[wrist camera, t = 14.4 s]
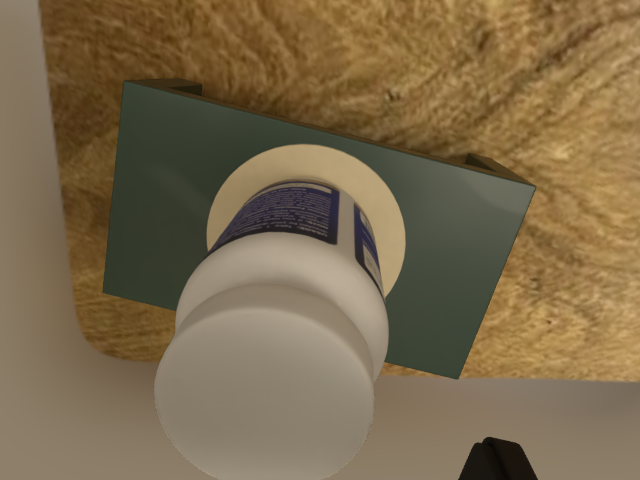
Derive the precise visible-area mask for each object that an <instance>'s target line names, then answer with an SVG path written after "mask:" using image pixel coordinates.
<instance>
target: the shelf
mask: <svg viewBox="0 0 640 480" xmlns="http://www.w3.org/2000/svg"><path fill="white" fill-rule="evenodd" d="M201 90H202V84H199V83H195V82H192V81H188V80H184V79H180V78H176V79H148V80H125V81H124V83H123V93H122V103H121V113H120V123H119V133H118V143H117V153H116V163H115V173H114V183H113V193H112V203H111V213H110V222H109V232H108V242H107V252H106V262H105V272H104V282H103V293H105V294H109V295H113V296H117V297H121V298H125V299H129V300H133V301H138V302H142V303H146V304H150V305H154V306H158V307H162V308H166V309H170V310H174V311H177V306H178V303H179V300H180V297H181V294H182V292H183V290H184V288H185V286H186V283H187V281H188V279H189V278H190V276H191V275H192V273H193V272H194V270H195V269H196V268H197V266H198V265H199V264H200V262H201V261H202V260H203V258H204V257H205V256H206V254H207V253H208V252H209V250H210V249H211V248H212V247H213V245H214V244H215V242H216V241H217V240H218V238H219V236H220V235H221V234H222V233H223V231H224V230H225V229H226V227H227V226H228V225H229V223H230V222H231V221H232V219H233V218H234V217H235V215H236V214H237V212H238V211H239V210H240V208H241V207H242V206H243V204H244V203H245V202H246V201H247V200H248V199H249V198H250V197H251V196H253V195H254V194H255V193H256V192H258V191H259V190H260V189H262V188H264V187H265V186H267V185H269V184H272V183H274V182H277V181H280V180H284V179H289V178H312V179H318V180H322V181H325V182H328V183H330V184H332V185H334V186H336V187H338V188H340V189H341V190H343V191H345V192H346V193H347V194H349V195H350V196H351V197H352V198H353V199H354V200H355V201H356V202H357V203H358V204H359V205H360V207H361V208H362V209H363V211H364V212H365V214H366V216H367V217H368V220H369V222H370V224H371V227H372V230H373V233H374V237H375V241H376V247H377V253H378V259H379V265H380V272H381V278H382V283H383V290H384V296H385V303H386V308H387V315H388V326H389V338H388V348H387V353H386V357H385V361H384V362H387V363H391V364H396V365H400V366H404V367H408V368H412V369H416V370H420V371H424V372H428V373H432V374H437V375H441V376H445V377H449V378H453V379H459V376H460V374H461V371H462V369H463V367H464V364H465V362H466V359H467V357H468V354H469V352H470V349H471V347H472V344H473V342H474V340H475V337H476V335H477V332H478V330H479V327H480V325H481V322H482V320H483V317H484V315H485V313H486V310H487V308H488V305H489V303H490V300H491V298H492V295H493V293H494V290H495V288H496V285H497V283H498V281H499V278H500V276H501V273H502V271H503V268H504V266H505V263H506V261H507V258H508V256H509V254H510V251H511V249H512V246H513V244H514V241H515V239H516V236H517V234H518V231H519V229H520V227H521V224H522V222H523V219H524V217H525V214H526V212H527V209H528V207H529V204H530V202H531V199H532V197H533V195H534V192H535V190H536V186H535V185H534V184H532V183H530V182H529V181H527V180H525V179H524V178H522V177H521V176H519V175H517V174H516V173H514V172H512V171H511V170H509V169H507V168H506V167H504V166H502V165H501V164H499V163H497V162H496V161H494V160H493V159H491V158H487V157H483V156H479V155H475V154H471V153H469V154H468V157H467V160H466V163H465V164H463V163H459V162H455V161H451V160H447V159H443V158H439V157H436V156H432V155H428V154H424V153H420V152H416V151H412V150H408V149H404V148H400V147H397V146H393V145H389V144H385V143H381V142H377V141H373V140H369V139H365V138H362V137H358V136H354V135H350V134H346V133H342V132H338V131H334V130H330V129H326V128H323V127H319V126H315V125H311V124H307V123H303V122H299V121H295V120H291V119H288V118H284V117H280V116H276V115H272V114H268V113H264V112H260V111H256V110H252V109H249V108H245V107H241V106H237V105H233V104H229V103H225V102H221V101H217V100H214V99H210V98H206V97H202V96H201Z"/></svg>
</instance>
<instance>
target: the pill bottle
mask: <svg viewBox="0 0 640 480" xmlns="http://www.w3.org/2000/svg"><path fill="white" fill-rule="evenodd" d="M388 338H389V326H388V315H387V308H386V303H385V296H384V290H383V283H382V278H381V272H380V265H379V259H378V253H377V247H376V241H375V237H374V233H373V230H372V227H371V224H370V222H369V220H368V217H367V216H366V214H365V212H364V211H363V209H362V208H361V207H360V205H359V204H358V203H357V202H356V201H355V200H354V199H353V198H352V197H351V196H350V195H349V194H347V193H346V192H345V191H343V190H341V189H340V188H338V187H336V186H334V185H332V184H330V183H328V182H325V181H322V180H318V179H312V178H289V179H284V180H280V181H277V182H274V183H272V184H269V185H267V186H265V187H264V188H262V189H260V190H259V191H258V192H256V193H255V194H254V195H253V196H251V197H250V198H249V199H248V200H247V201H246V202H245V203H244V204H243V206H242V207H241V208H240V210H239V211H238V212H237V214H236V215H235V217H234V218H233V219H232V221H231V222H230V223H229V225H228V226H227V227H226V229H225V230H224V231H223V233H222V234H221V235H220V236H219V238H218V240H217V241H216V242H215V244H214V245H213V247H212V248H211V249H210V250H209V252H208V253H207V254H206V256H205V257H204V258H203V260H202V261H201V262H200V264H199V265H198V266H197V268H196V269H195V270H194V272H193V273H192V275H191V276H190V278H189V279H188V281H187V283H186V286H185V288H184V290H183V292H182V294H181V297H180V300H179V303H178V306H177V312H176V319H175V335H174V337H173V338H172V340H171V342H170V344H169V346H168V347H167V349H166V351H165V353H164V355H163V357H162V359H161V361H160V363H159V366H158V370H157V373H156V377H155V384H154V399H155V406H156V411H157V415H158V418H159V420H160V423H161V425H162V427H163V429H164V431H165V433H166V435H167V437H168V438H169V440H170V441H171V442H172V444H173V445H174V446H175V447H176V449H177V450H178V451H179V452H180V453H181V454H182V455H183V456H184V457H185V458H186V459H187V460H188V461H190V462H191V463H192V464H193V465H195V466H196V467H198V468H199V469H200V470H202V471H204V472H205V473H207V474H209V475H211V476H212V477H214V478H216V479H219V480H323V479H325V478H328V477H329V476H331V475H332V474H334V473H336V472H338V471H339V470H340V469H342V468H343V467H344V466H345V465H347V464H348V463H349V462H350V461H351V460H352V459H353V458H354V456H355V455H356V454H357V453H358V451H359V450H360V449H361V447H362V445H363V444H364V442H365V441H366V438H367V436H368V434H369V432H370V429H371V426H372V422H373V416H374V408H375V391H374V382H375V381H376V379H377V377H378V375H379V373H380V371H381V369H382V367H383V364H384V361H385V357H386V353H387V348H388Z"/></svg>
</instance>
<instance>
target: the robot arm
mask: <svg viewBox="0 0 640 480" xmlns="http://www.w3.org/2000/svg"><path fill="white" fill-rule="evenodd" d="M458 480H538V479H537V477H536V475H535V473H534V471H533V469H532V467H531V465H530V463H529V461H528V459H527V457H526V455H525V453H524V451H523V449H522V448H521V446H520V445H519V444H517V443H515V442H510V441H506V440H501V439H497V438H493V437H486V438H485V439H484V440H483V442H482V443H475V444H474V446H473V448H472V449H471V452H470V454H469V456H468V459H467V461H466V463H465V465H464V468H463V470H462V472H461V475H460V478H459V479H458Z"/></svg>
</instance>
